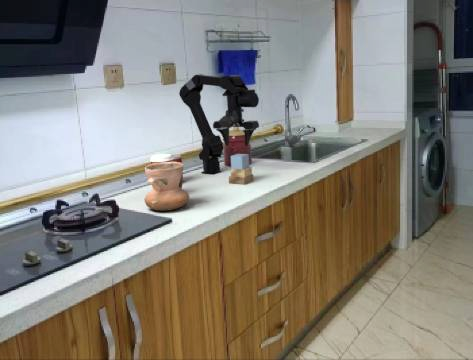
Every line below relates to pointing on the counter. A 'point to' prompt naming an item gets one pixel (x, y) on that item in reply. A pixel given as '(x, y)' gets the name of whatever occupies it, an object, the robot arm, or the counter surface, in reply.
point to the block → (240, 161)
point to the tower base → (241, 180)
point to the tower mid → (241, 172)
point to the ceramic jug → (165, 186)
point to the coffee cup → (161, 158)
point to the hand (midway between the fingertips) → (236, 145)
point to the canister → (236, 146)
